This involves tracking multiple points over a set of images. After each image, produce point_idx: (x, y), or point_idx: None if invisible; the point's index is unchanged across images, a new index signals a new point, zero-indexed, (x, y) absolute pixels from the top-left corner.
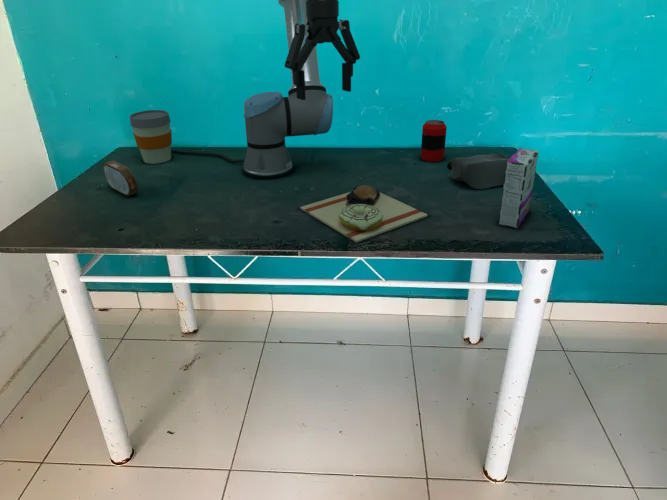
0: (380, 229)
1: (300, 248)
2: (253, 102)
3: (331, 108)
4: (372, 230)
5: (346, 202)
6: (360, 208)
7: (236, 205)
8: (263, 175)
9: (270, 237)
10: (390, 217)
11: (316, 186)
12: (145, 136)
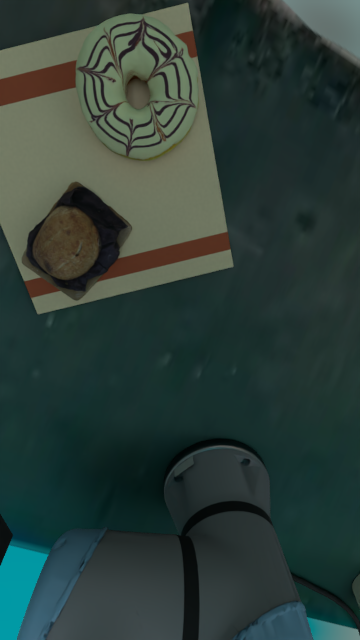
0: None
1: (320, 50)
2: None
3: (37, 599)
4: None
5: (127, 234)
6: (129, 112)
7: (342, 338)
8: (243, 447)
9: (352, 147)
10: (47, 100)
11: (151, 368)
12: None
